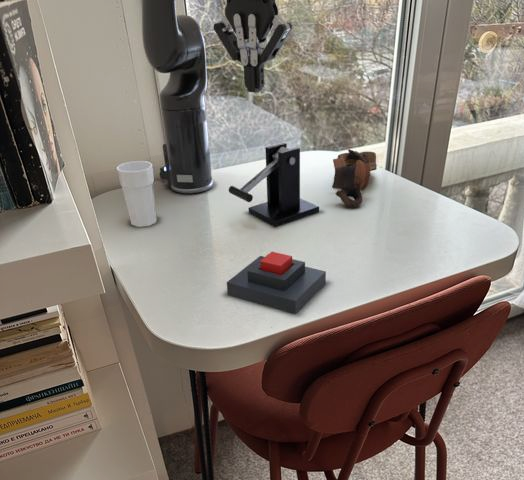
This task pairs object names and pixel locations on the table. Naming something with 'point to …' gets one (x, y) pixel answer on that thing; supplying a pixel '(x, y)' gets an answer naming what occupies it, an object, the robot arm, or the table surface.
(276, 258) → the stop button
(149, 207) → the cup
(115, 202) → the table surface
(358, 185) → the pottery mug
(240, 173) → the table surface
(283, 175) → the bracket
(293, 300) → the control block
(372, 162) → the brown curved piece
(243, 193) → the lever
